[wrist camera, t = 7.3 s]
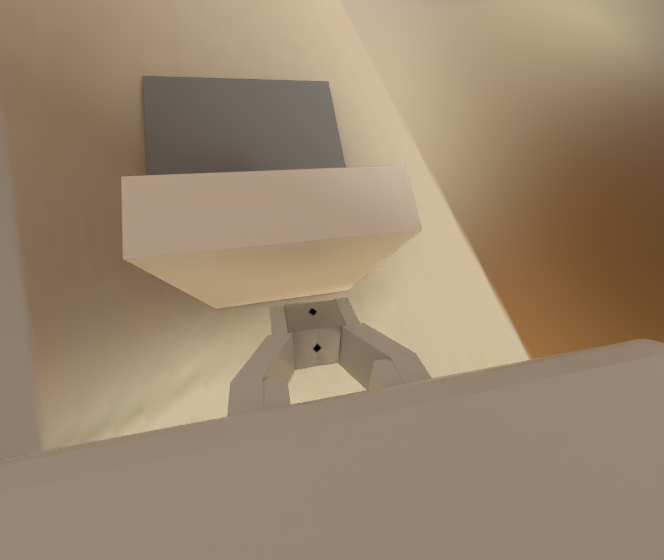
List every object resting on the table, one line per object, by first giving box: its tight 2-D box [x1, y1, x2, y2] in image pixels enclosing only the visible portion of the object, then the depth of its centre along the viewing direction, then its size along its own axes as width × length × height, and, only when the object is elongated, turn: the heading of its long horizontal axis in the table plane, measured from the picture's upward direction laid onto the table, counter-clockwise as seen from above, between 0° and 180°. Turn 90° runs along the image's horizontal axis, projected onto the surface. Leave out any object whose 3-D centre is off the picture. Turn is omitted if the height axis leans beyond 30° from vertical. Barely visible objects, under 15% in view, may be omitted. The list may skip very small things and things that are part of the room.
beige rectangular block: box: [121, 165, 422, 309], centre depth 14 cm, size 3×9×11 cm, turn 100°
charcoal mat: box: [143, 76, 345, 175], centre depth 20 cm, size 14×14×1 cm
